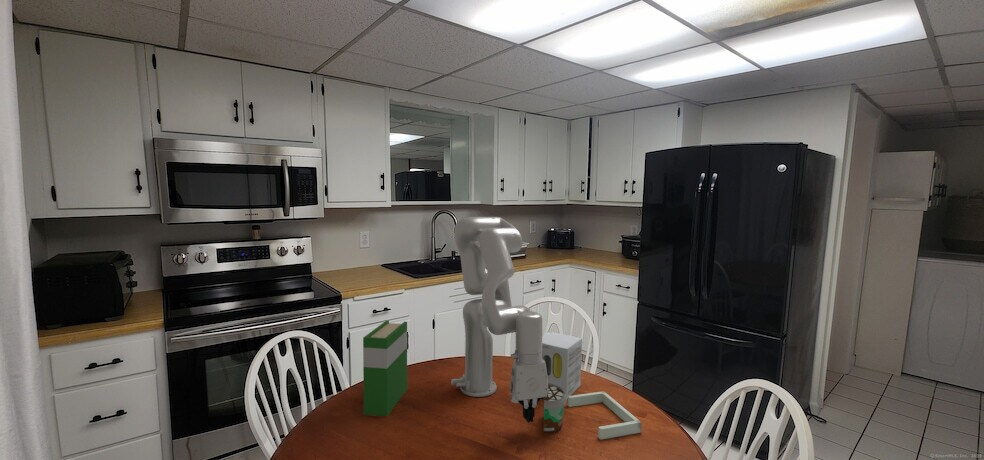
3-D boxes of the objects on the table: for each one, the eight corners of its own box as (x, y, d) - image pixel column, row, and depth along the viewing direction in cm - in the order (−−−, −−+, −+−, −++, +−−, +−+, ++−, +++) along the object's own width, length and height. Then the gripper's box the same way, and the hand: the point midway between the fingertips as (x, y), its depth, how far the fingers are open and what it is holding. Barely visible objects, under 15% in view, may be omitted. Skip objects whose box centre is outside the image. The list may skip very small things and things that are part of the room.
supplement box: (531, 389, 139) (532, 340, 138) (547, 376, 150) (548, 330, 149) (566, 400, 131) (568, 348, 130) (581, 385, 142) (582, 337, 141)
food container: (565, 439, 110) (566, 404, 109) (543, 436, 111) (544, 401, 110) (566, 415, 122) (567, 384, 121) (546, 413, 123) (547, 382, 122)
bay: (600, 439, 110) (600, 429, 109) (567, 405, 128) (567, 396, 128) (641, 432, 113) (641, 422, 113) (603, 400, 132) (603, 391, 132)
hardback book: (386, 388, 138) (386, 320, 136) (407, 389, 137) (407, 321, 135) (363, 415, 121) (363, 337, 119) (387, 417, 120) (386, 339, 118)
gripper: (508, 364, 106) (508, 430, 107) (558, 358, 111) (558, 422, 111) (499, 354, 114) (499, 417, 114) (547, 349, 118) (547, 409, 119)
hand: (528, 419), depth 113 cm, fingers closed
